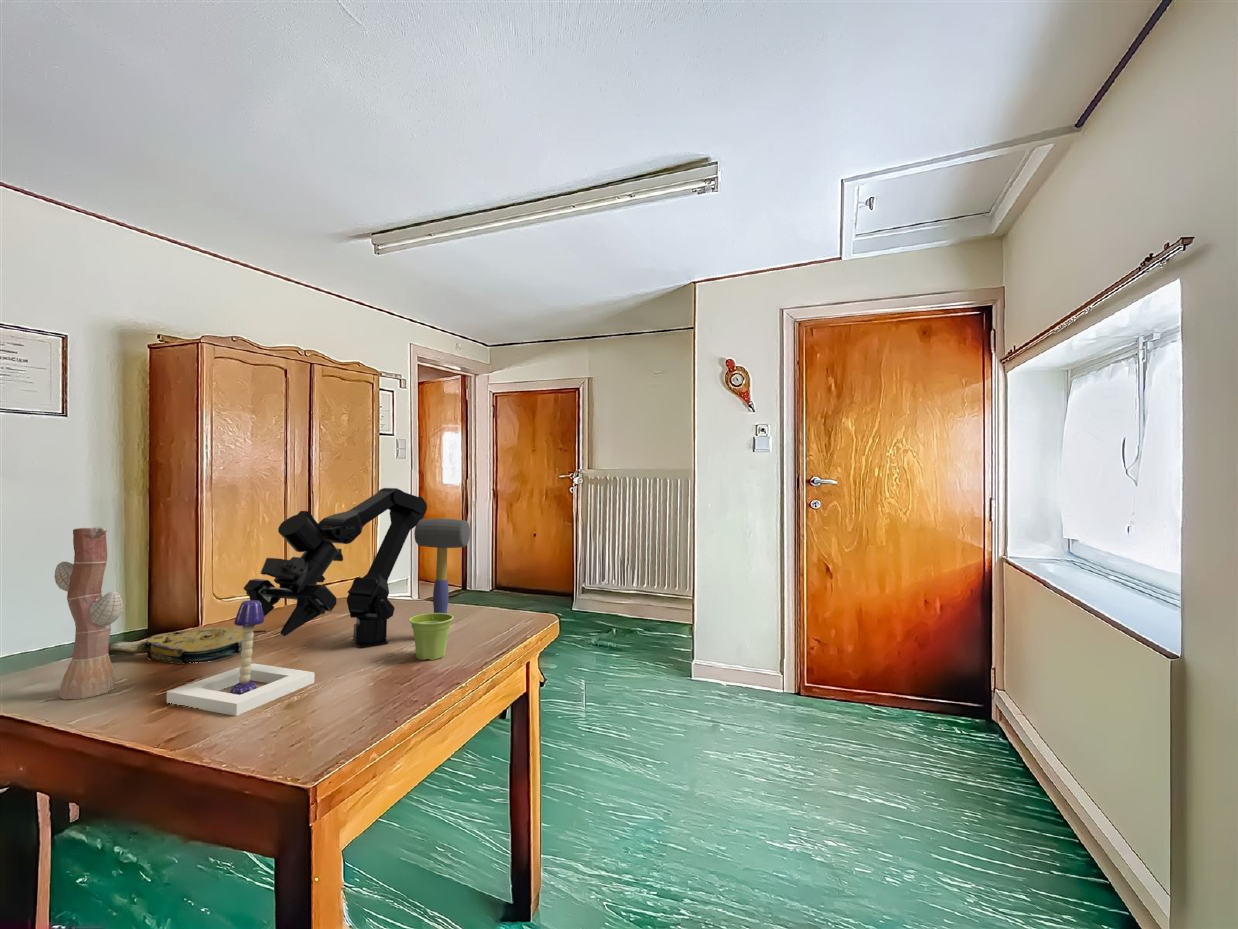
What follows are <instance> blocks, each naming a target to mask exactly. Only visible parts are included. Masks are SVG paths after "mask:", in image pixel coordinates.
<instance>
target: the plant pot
mask: <svg viewBox="0 0 1238 929" xmlns="http://www.w3.org/2000/svg"><path fill="white" fill-rule="evenodd" d="M408 620H409V621H408V622H409V623H410V624H411V628H412V632H413V638H414V647H415V656H416V659H418V660H420V661H425V660H431V661H435V660H437V659H442V658H443V657H444V656H445V654H446V652H447V643H448V636H449V632H450V626H451V625H452V621H453V620H454V616H453V615H452V614H450V613H447V614H446V613H434V612H431V613H423V614H422V613H421V614H417V615H414V616H412V617H410V618H409V619H408Z"/></svg>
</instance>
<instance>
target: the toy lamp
mask: <svg viewBox="0 0 1238 929" xmlns="http://www.w3.org/2000/svg"><path fill="white" fill-rule="evenodd" d="M264 623H265V617H264V615H263V610H262V606H261V603H260V601H258V600H250V599H249V600H244V601H241V603H240V605H239V607H238V611H237V613H236V615H235V618H234V625H235V626H236V627H242V628H243V631H244V633H243V635H242V639H243V642H242V651H241V652H240V653H241V655H240V656H241V658H240V662H239V664H240V667H241V668H240V674H241V675H240V677H239V682H240V683H237V684H236V685H233V686H232V688H231V690H230V691H229V693H232V694H238V695H241V694H244V693H246V692H249V691H251V690H254V689H256V688H258V685H257V684H256V683H255V681H252V680H250V678H251V676H250V672H251V666H250V665H251V663H252V662H253V658H252V655H253V652H254V651H253V647H254V637H255V633H253V631H255V626H257V625H261V624H264ZM254 625H255V626H254Z"/></svg>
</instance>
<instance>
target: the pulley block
mask: <svg viewBox="0 0 1238 929" xmlns="http://www.w3.org/2000/svg"><path fill="white" fill-rule="evenodd" d="M266 632H267V630H266V629H265V630H261V629H259V630H254V631H253V633H254V634H255V633H260V634H261V633H266ZM243 633H244V631H243V627H240V626H219V627H217V626H216V627H206V628H205V627H204V628H197V629H191V630H190V629H189V630H180V631H170V632H165V633H160V634H155V635H152V636H150V637H147V639H146V640H145V642H144V641H143V642H142V641H114V642H109V646H108V654H109V657H110V656H111V657H112V656H129V655H130V654H131V655H136V654H137V655H138V654H139V655H140V654H147V656H146V658H147V657H148V658H149V659H151V660H150V661H156V662H162V661H166V662H165V663H168V662H173V663H172V664H175V663H180V664H179V665H184V664H183V663H186V664H189V662H191V663H193V662H194V663H195V662H198V663H197V664H200V663H199V662H207V663H209V662H208V661H213V662H216V661H218V662H219V661H221V660H225V659H230V658H232V657H235V656H237V655H239V656H241V651H242V642H243V639H242V635H243Z"/></svg>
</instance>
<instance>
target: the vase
mask: <svg viewBox="0 0 1238 929" xmlns="http://www.w3.org/2000/svg"><path fill="white" fill-rule="evenodd" d="M107 531H108V530H107V528H106V527H101V526H93V527H80V528H74V529H72V537H73V538H72V542H73V551H74V552H73V554H74V557H73V563H72V562H68V561H61V562H59V563H58V564H57V565H56V567H55V570H54V576H53V577H54V582H55V585H56V587H58V588H59V589H60V590H62V591H64V592H67V594H66V601H67V604H68V608H69V611H70V614H71V616H72V619H73V621H74V624H75V635H74V636H75V637H74V646H73V651H72V657H71V658H72V659H71V661H70V663H69V665H68V667H67V669H66V671H65V673H64V675H63V677H62V680H61V683H60V688H59V692H58V694H59V695H58V697H59V698H60V699H61V698H62V699H61V700H66V699H75V700H81V699H80V698H84V699H89V697H90V698H94V696H95V697H97V696H96V695H98V696H101V695H100V694H102V695H104V694H103V693H105V692H107V691H109V692H111V691H112V690H111V689H112V688H114V689H115V688H116V674H115V671H114V667H113V664H112V661H111V658H110V656H109V654H108V646H109V643H110V637H111V634H112V633H111V630H112V628H111V624H113V623H114V622H115V621H118V619H119V618H120V617H121V615H122V613H123V611H124V610H123V609H124V603H123V602H124V601H123V600H122V597H121V595H120V593H119V592H117V591H109V592H107V593H106V594H104V595H103V594H102V587H103V583H104V582H103V581H104V575H105V570H106V568H107V567H106V566H107V561H108V547H107ZM110 690H111V691H110ZM107 693H108V692H107ZM105 694H106V693H105Z"/></svg>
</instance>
